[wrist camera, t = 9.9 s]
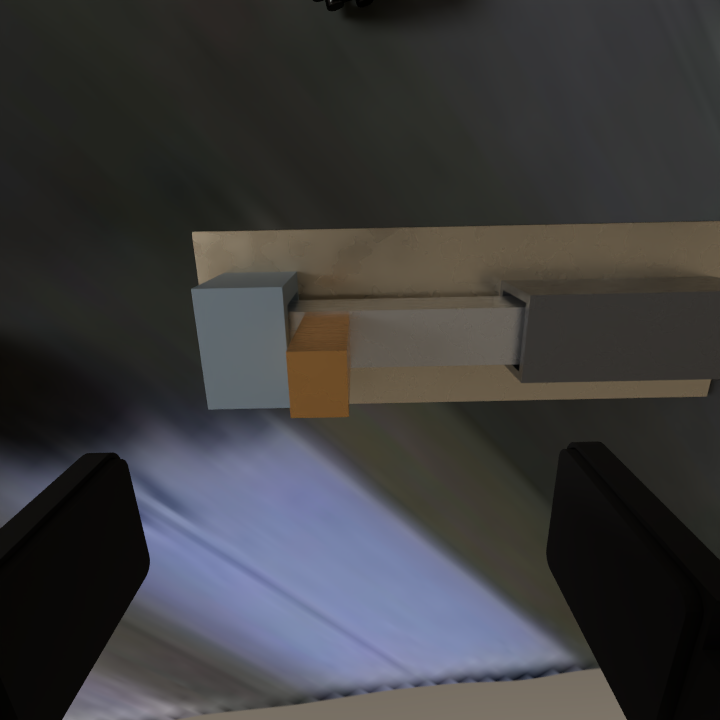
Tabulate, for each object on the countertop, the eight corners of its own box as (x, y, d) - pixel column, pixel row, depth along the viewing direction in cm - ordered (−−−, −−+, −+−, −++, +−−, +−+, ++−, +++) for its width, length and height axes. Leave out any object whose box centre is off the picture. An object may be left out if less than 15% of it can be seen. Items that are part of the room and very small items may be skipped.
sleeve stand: (740, 220, 33) (835, 223, 27) (698, 391, 38) (770, 430, 31) (196, 231, 33) (156, 237, 27) (219, 401, 38) (190, 442, 31)
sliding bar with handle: (557, 294, 33) (662, 340, 22) (551, 346, 34) (646, 414, 23) (249, 301, 33) (193, 350, 22) (255, 352, 34) (204, 423, 23)
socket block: (296, 271, 33) (282, 287, 27) (303, 370, 36) (291, 407, 29) (223, 273, 33) (191, 288, 27) (235, 372, 36) (208, 409, 29)
